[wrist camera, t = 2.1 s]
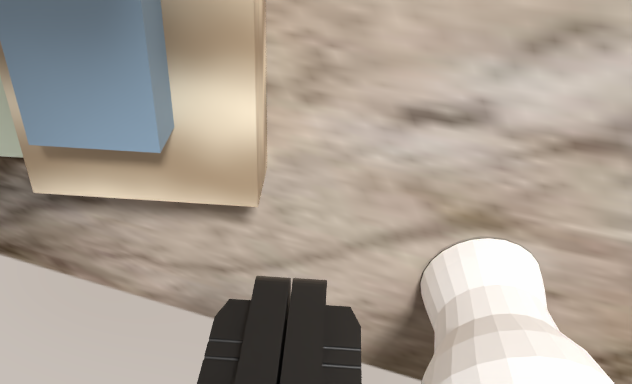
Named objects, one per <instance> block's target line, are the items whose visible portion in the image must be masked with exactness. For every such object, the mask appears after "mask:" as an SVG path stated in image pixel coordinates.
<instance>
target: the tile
mask: <svg viewBox="0 0 632 384" xmlns="http://www.w3.org/2000/svg"><path fill="white" fill-rule="evenodd" d="M0 41H1V45H2V49H3V52H4V56H5V60H6V63H7V67H8V70H9V74H10V78H11V81H12V85H13V89H14V92H15V96H16V100H17V103H18V107H19V111H20V114H21V118H22V122H23V125H24V129H25V132H26V136H27V140H28V143H29V145H38V146H54V147H70V148H86V149H103V150H119V151H135V152H151V153H161V151H162V149H163V147H164V145H165V144H166V142H167V140H168V138H169V136H170V134H171V132H172V131H173V129H174V119H173V110H172V101H171V91H170V82H169V73H168V64H167V55H166V46H165V37H164V28H163V19H162V9H161V0H0Z"/></svg>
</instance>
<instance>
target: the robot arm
mask: <svg viewBox="0 0 632 384" xmlns="http://www.w3.org/2000/svg"><path fill="white" fill-rule="evenodd" d="M326 288H327V280H314V279H299V278H293V283H292V291H291V278H281V277H266V276H257V277H256V279H255V284H254V289H253V294H252V299H251V300H236V299H229V300H228V302H227V303H226V304H225V305H224V306H223V308H222V309H221V310H220V311H219V312H218V314H217V315H216V316H215V318H214V322H213V325H212V329H211V333H210V337H209V342H208V344H207V348H206V352H205V358H204V360H203V363H202V367H201V371H200V374H199V378H198V382H197V384H362V383H361V326H360V324H359V322H358V320H357V319H356V317H355V315H354V313H353V311H352V309H351V307H344V306H329V305H326Z"/></svg>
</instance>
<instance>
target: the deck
mask: <svg viewBox="0 0 632 384" xmlns="http://www.w3.org/2000/svg"><path fill="white" fill-rule="evenodd" d="M161 9H162V19H163V28H164V37H165V46H166V55H167V64H168V73H169V82H170V91H171V101H172V110H173V119H174V129H173V131H172V132H171V134H170V136H169V138H168V140H167V142H166V144H165V145H164V147H163V149H162V151H161V153H151V152H135V151H119V150H103V149H86V148H70V147H54V146H38V145H29V143H28V140H27V136H26V132H25V129H24V125H23V122H22V118H21V114H20V111H19V107H18V103H17V100H16V96H15V92H14V89H13V85H12V81H11V78H10V74H9V70H8V67H7V63H6V60H5V56H4V52H3V49H2V45H1V41H0V77H1V80H2V84H3V87H4V91H5V94H6V98H7V101H8V105H9V108H10V112H11V115H12V119H13V122H14V126H15V129H16V133H17V136H18V140H19V143H20V147H21V151H22V154H23V158H24V161H25V165H26V168H27V172H28V175H29V179H30V182H31V186H32V189H33V193H43V194H59V195H75V196H91V197H106V198H122V199H138V200H154V201H170V202H185V203H201V204H217V205H233V206H249V207H258V204H259V200H260V195H261V191H262V187H263V182H264V178H265V174H266V169H267V109H266V0H161Z"/></svg>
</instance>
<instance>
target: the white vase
mask: <svg viewBox="0 0 632 384" xmlns="http://www.w3.org/2000/svg"><path fill="white" fill-rule="evenodd" d="M421 295H422V298H423V302H424V305H425V308H426V311H427V313H428V316H429V319H430V321H431V324H432V326H433V329H434V332H435V341H434V355H433V357H432V359H431V361H430V363H429V365H428V367H427V369H426V371H425V373H424V376H423V379H422V382H421V384H614V382H613V381H612V380H611V379H610V378H609V377H608V375H607V374H606V373H605V372H604V371H603V370H602V369H601V367H600V366H599V365H598V364H597V363H596V362H595V361H594V359H593V358H592V357H591V356H590V355H589V354H588V353H587V351H586V350H584V349H583V348H582V347H580V346H579V345H578V344H576V343H575V342H573V341H572V340H571V339H569V338H568V337H567V336H565V335H564V334H563V333H561V332H560V331H559V329H558V328H557V326H556V324H555V322H554V321H553V319H552V317H551V316H550V314H549V312H548V311H547V303H546V296H545V289H544V284H543V280H542V275H541V272H540V268H539V265H538V263H537V261H536V260H535V259H534V257H533V256H532V255H531V253H529V252H528V251H527V250H525V249H524V248H522V247H521V246H519V245H517V244H514V243H511V242H508V241H506V240H498V239H490V238H487V239H475V240H469V241H466V242H462V243H459V244H456V245H454V246H452V247H450V248H448V249H446V250H444V251H442V252H441V253H440V254H439V255H438V256H437V257H435V258H434V259H433V260H432V261H431V262H430V264H429V265H428V267H427V268H426V269H425V271H424V273H423V277H422V280H421Z"/></svg>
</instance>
